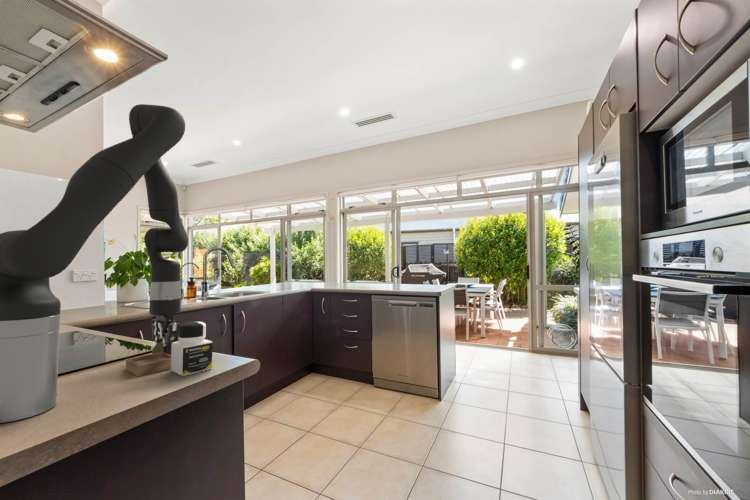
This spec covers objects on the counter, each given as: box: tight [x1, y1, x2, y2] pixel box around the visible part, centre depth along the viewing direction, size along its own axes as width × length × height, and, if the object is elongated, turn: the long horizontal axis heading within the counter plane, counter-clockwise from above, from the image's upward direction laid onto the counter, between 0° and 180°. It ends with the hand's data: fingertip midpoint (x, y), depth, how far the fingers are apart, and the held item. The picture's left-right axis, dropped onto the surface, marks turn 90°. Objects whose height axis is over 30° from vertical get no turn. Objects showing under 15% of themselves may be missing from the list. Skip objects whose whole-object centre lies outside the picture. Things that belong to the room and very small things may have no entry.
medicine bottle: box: [170, 321, 214, 377], centre depth 82 cm, size 7×7×12 cm
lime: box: [151, 341, 163, 354], centre depth 91 cm, size 4×5×5 cm
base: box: [125, 352, 171, 378], centre depth 83 cm, size 8×8×3 cm
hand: (164, 357), depth 91 cm, fingers closed on lime, 4 cm apart
